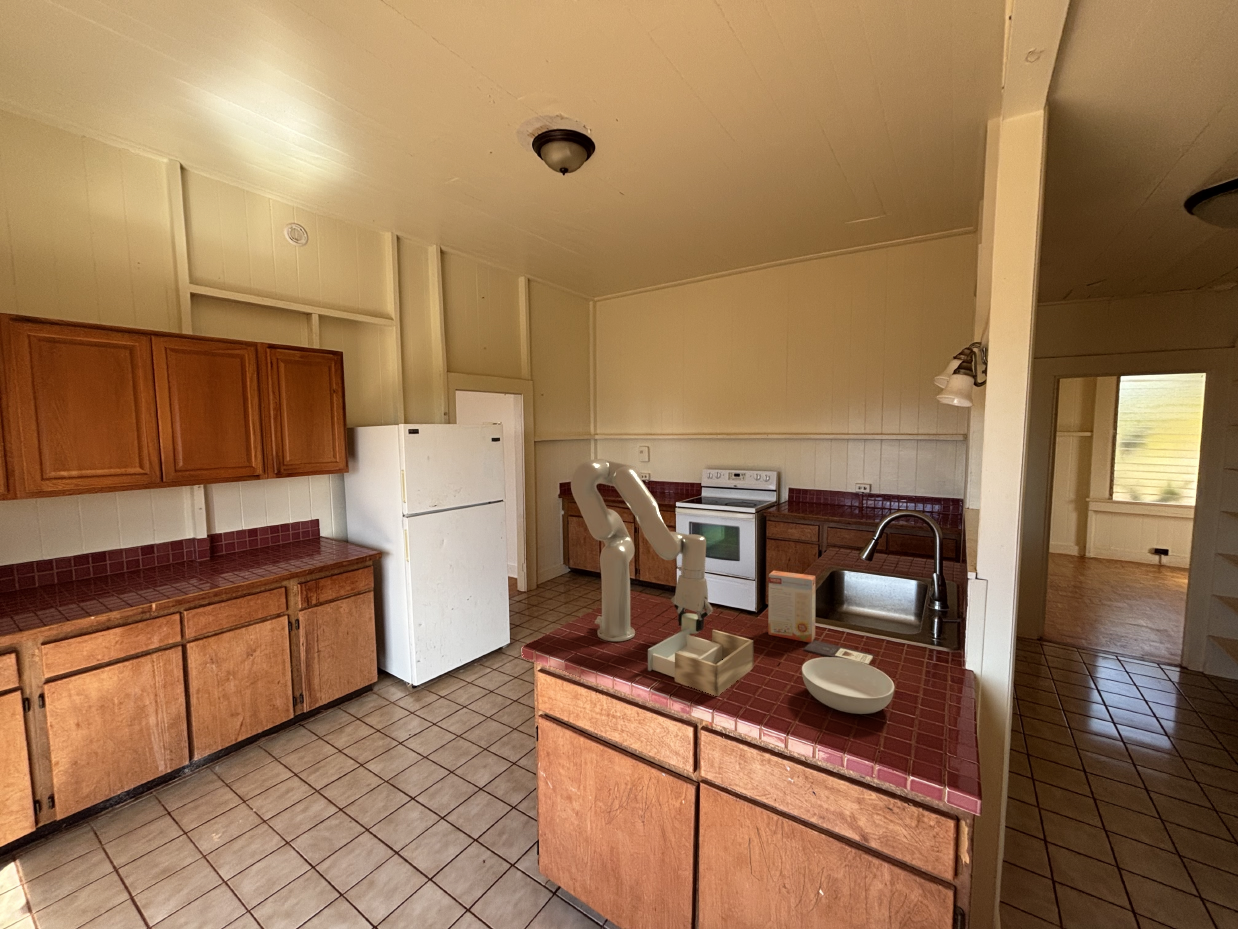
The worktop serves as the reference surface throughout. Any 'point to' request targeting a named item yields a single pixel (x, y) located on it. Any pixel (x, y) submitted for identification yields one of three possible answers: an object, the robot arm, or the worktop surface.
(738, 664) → the sleeve
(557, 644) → the worktop surface
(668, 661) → the tray
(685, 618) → the cream glossy rounded part
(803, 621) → the cracker box
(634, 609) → the worktop surface
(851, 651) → the chocolate bar
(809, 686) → the serving bowl
